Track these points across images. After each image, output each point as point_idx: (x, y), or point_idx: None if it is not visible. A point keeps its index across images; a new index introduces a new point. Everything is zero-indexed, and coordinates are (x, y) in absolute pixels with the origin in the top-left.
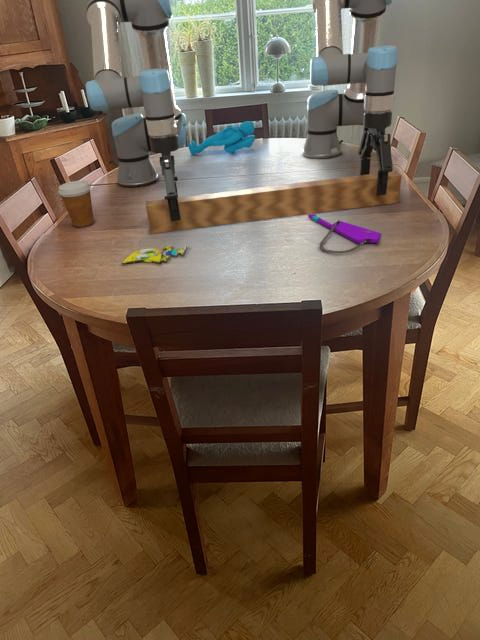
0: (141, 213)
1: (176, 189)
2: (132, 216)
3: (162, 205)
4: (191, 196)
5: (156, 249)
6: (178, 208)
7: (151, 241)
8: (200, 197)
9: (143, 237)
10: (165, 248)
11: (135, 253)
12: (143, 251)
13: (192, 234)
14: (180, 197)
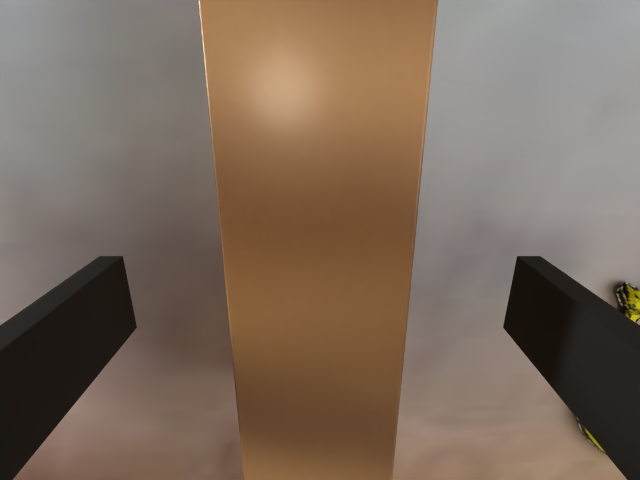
0: None
1: (23, 340)
2: (76, 462)
3: (393, 439)
4: (239, 143)
5: None
6: (618, 315)
7: (467, 376)
8: (333, 2)
9: None
10: (634, 317)
11: None
12: None
13: (474, 153)
14: (237, 282)
